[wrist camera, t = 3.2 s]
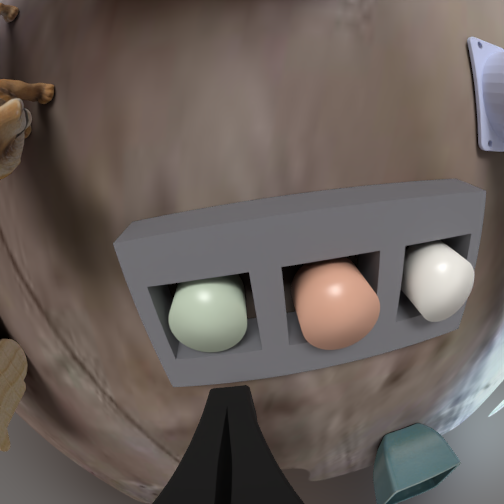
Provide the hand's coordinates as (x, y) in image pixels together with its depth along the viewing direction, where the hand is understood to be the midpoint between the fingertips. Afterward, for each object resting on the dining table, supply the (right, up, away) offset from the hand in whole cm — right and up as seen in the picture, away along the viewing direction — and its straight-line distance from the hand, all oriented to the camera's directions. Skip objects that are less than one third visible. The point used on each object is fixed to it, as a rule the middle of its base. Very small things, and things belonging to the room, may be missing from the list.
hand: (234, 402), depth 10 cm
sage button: (-2, +3, +7) cm, 8 cm away
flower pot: (+19, -18, +19) cm, 33 cm away
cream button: (+11, +5, +6) cm, 14 cm away
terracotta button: (+5, +4, +6) cm, 9 cm away
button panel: (+5, +4, +7) cm, 10 cm away
